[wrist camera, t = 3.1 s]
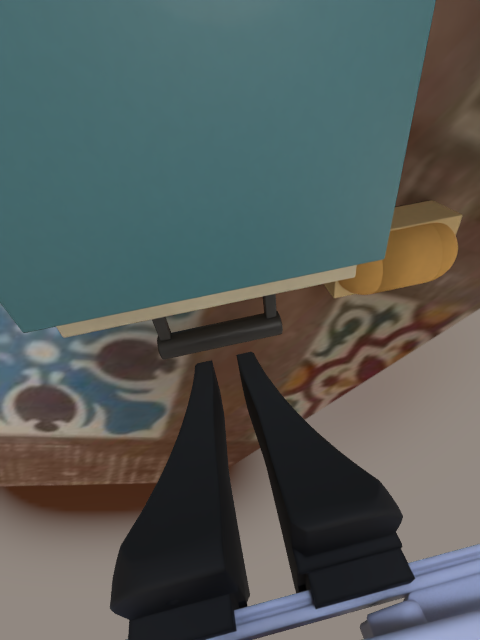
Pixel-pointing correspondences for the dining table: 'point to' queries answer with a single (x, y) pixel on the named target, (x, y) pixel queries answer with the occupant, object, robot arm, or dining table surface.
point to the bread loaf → (408, 251)
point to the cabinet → (196, 146)
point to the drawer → (213, 333)
